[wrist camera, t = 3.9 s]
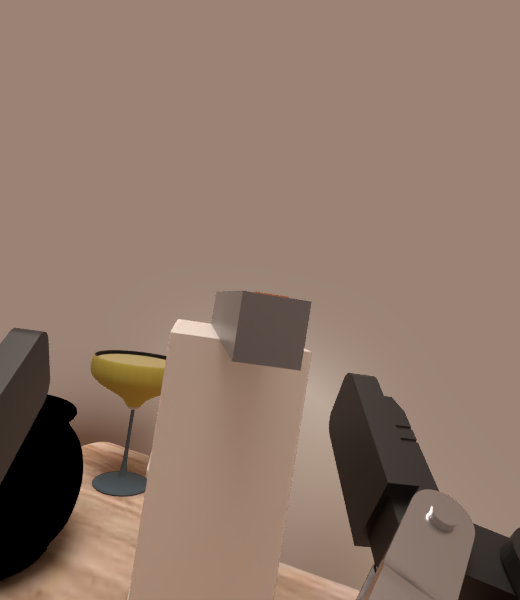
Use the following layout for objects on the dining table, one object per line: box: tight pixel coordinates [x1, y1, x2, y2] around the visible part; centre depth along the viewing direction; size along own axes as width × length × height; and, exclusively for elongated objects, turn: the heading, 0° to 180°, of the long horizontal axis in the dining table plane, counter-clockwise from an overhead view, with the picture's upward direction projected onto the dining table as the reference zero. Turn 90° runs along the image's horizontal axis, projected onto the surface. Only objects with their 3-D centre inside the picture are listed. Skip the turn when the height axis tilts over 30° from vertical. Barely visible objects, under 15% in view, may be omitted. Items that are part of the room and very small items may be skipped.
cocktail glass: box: [91, 350, 167, 496], centre depth 88 cm, size 18×18×25 cm
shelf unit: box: [127, 319, 312, 600], centre depth 46 cm, size 18×12×36 cm
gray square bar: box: [211, 291, 311, 371], centre depth 40 cm, size 30×4×4 cm, turn 8°
